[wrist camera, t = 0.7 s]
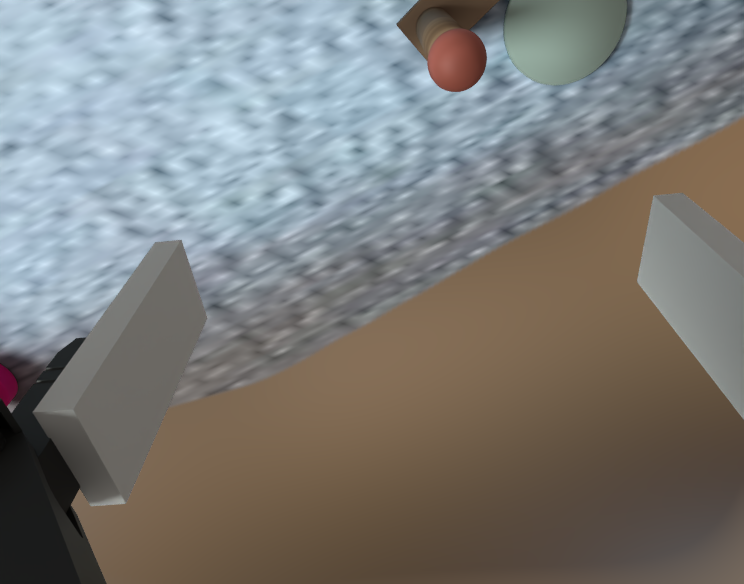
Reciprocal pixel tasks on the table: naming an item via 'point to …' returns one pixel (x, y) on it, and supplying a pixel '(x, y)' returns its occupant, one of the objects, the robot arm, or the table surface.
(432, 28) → the gate course
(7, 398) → the pepper mill
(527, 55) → the pad
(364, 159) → the table surface
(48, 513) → the robot arm
